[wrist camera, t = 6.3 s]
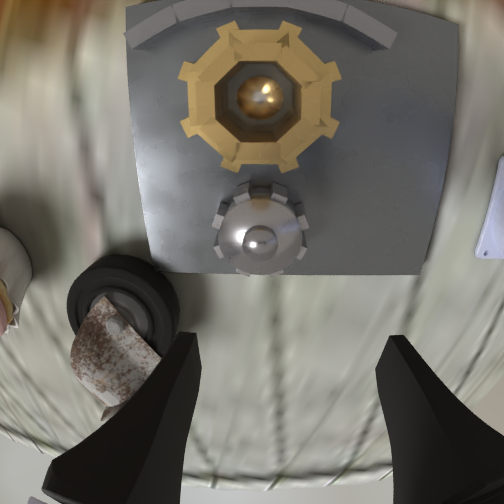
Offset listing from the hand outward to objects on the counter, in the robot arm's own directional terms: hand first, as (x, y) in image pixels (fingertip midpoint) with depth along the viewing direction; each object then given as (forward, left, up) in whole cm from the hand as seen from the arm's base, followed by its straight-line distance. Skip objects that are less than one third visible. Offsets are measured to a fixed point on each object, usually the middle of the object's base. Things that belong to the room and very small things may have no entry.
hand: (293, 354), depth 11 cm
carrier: (-1, -6, -10) cm, 11 cm away
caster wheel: (+12, +7, -10) cm, 17 cm away
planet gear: (+1, -8, -9) cm, 12 cm away
